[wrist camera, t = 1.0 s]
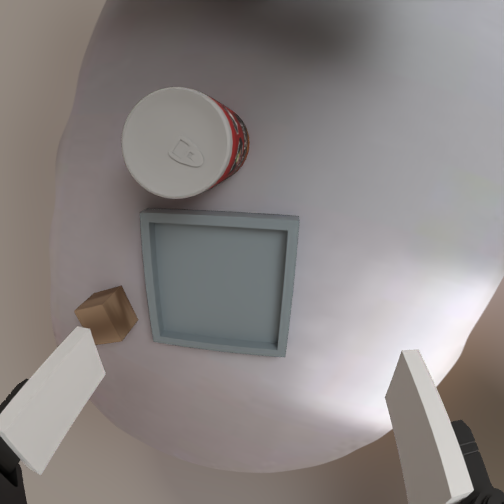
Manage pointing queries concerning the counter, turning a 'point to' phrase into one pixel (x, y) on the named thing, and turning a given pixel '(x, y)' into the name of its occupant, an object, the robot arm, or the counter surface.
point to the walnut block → (107, 315)
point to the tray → (220, 278)
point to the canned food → (182, 142)
